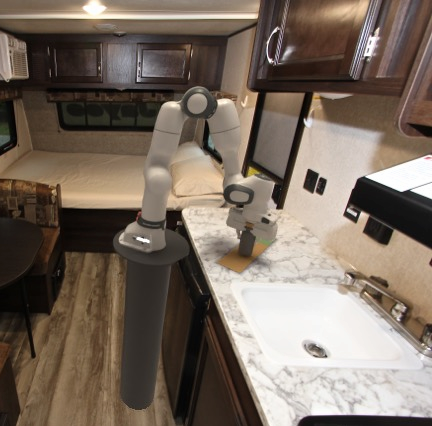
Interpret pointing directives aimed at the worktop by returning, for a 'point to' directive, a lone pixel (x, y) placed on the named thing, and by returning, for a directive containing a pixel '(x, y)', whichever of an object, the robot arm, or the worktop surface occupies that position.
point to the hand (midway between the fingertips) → (246, 241)
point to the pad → (265, 241)
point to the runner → (241, 258)
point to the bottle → (246, 241)
